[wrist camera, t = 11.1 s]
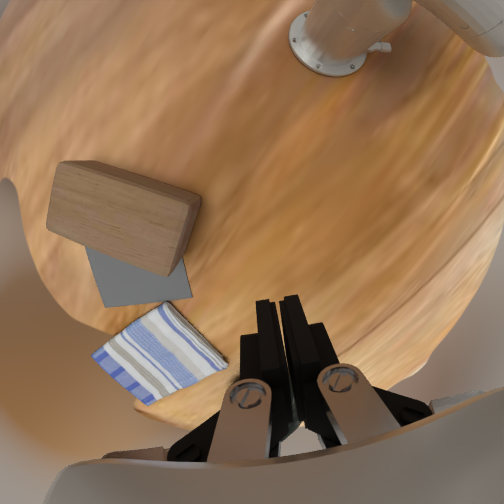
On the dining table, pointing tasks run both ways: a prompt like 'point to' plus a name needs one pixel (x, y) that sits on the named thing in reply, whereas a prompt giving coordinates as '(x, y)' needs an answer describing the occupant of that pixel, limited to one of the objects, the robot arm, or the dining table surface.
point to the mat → (135, 282)
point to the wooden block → (122, 214)
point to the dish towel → (158, 355)
